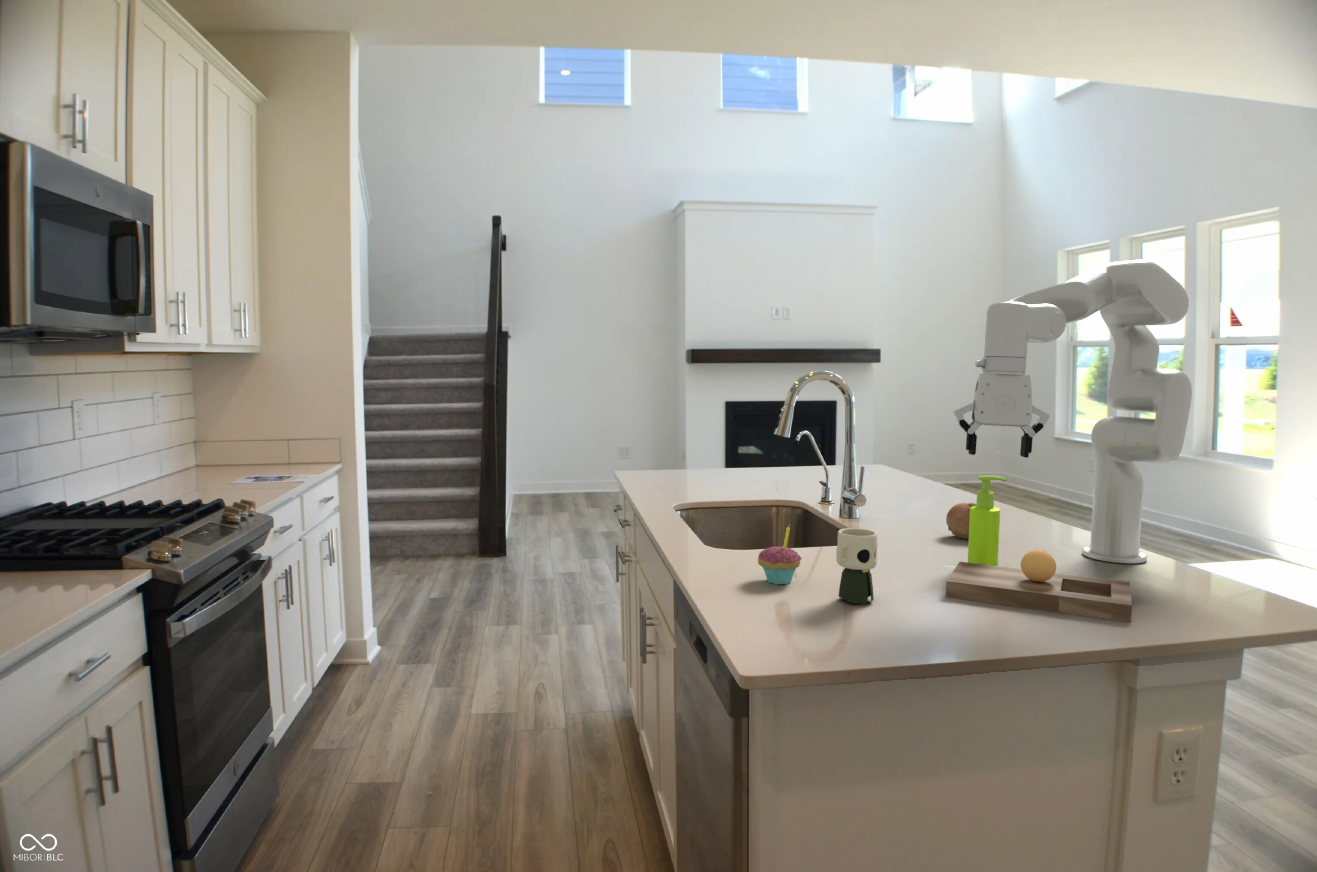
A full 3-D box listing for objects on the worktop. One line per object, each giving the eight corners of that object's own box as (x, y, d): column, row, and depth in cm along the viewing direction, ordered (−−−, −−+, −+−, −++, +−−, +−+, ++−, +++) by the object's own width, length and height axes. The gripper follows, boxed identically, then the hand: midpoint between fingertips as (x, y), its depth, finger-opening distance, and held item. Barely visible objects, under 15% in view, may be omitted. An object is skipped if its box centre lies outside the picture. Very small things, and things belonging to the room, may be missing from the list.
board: (959, 575, 162) (959, 561, 162) (1128, 597, 148) (1129, 581, 148) (945, 596, 149) (946, 580, 148) (1131, 622, 134) (1132, 605, 134)
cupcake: (805, 578, 160) (806, 520, 159) (793, 589, 153) (794, 529, 152) (764, 573, 164) (765, 517, 163) (751, 584, 156) (752, 525, 155)
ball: (1021, 575, 152) (1022, 544, 151) (1056, 579, 149) (1057, 548, 148) (1018, 583, 147) (1020, 551, 146) (1054, 587, 144) (1056, 555, 143)
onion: (980, 552, 194) (998, 519, 190) (943, 541, 194) (961, 509, 189) (971, 530, 203) (988, 499, 198) (936, 520, 202) (952, 488, 198)
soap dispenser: (1005, 573, 164) (1009, 478, 162) (970, 572, 165) (974, 477, 163) (999, 566, 170) (1003, 474, 168) (965, 564, 171) (968, 473, 169)
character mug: (852, 611, 140) (853, 539, 138) (821, 601, 145) (822, 532, 144) (890, 600, 146) (892, 531, 145) (859, 591, 152) (861, 524, 151)
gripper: (961, 365, 150) (955, 455, 151) (1058, 368, 147) (1051, 459, 148) (953, 366, 157) (947, 451, 158) (1045, 369, 154) (1039, 456, 156)
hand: (997, 455), depth 153 cm, fingers open, 9 cm apart
